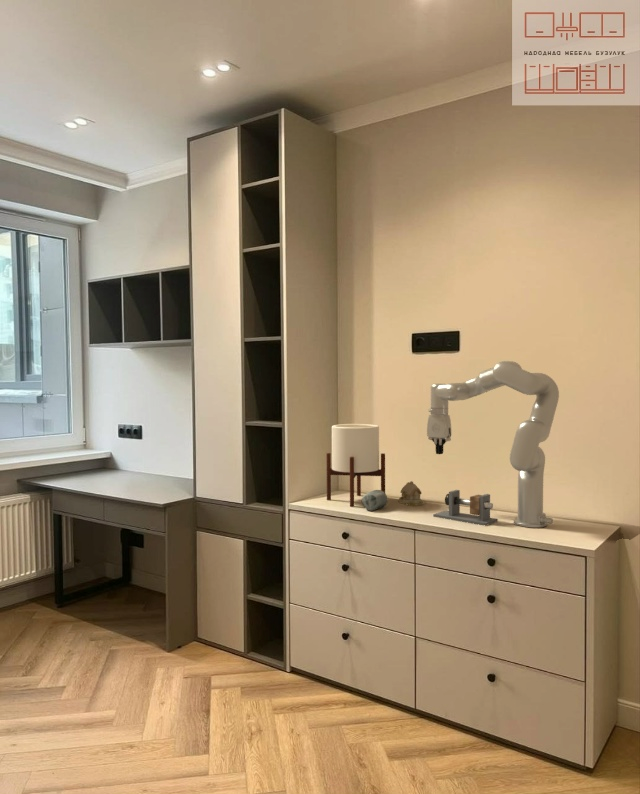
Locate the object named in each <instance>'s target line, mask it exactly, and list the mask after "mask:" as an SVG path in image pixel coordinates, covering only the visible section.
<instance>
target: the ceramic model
mask: <svg viewBox="0 0 640 794" xmlns="http://www.w3.org/2000/svg"><path fill="white" fill-rule="evenodd" d="M400 494H401V496H400V497H399V499H398V503H399V504H403V505H407V506H410V507H411V506H412V507H413V506H421V505H424V500H423V499H421V495H422V490H421V489H420V488H419V487H418V486H417V485H416V483H414V481H413V480H411V481H409V482H406V484H405V485H403V486H402V488H401V490H400Z"/></svg>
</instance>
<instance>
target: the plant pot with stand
mask: <svg viewBox="0 0 640 794" xmlns="http://www.w3.org/2000/svg"><path fill="white" fill-rule="evenodd" d="M331 476H349V507H351V508H352V507H355V478H356V496H359V497H360V496H361V495H362V488H361V487H362V485H361V484H362V479H361V477H380V490H381V491H383V492H384V493H385V494H386V453H380V426H379V425H377V424H367V423H344V424H343V423H342V424H341V423H340V424H334V425H332V426H331V452H326V500H327V501H331V500H332V499H331V498H332V477H331Z"/></svg>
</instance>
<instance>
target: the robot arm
mask: <svg viewBox="0 0 640 794" xmlns="http://www.w3.org/2000/svg"><path fill="white" fill-rule="evenodd" d="M504 386H506V387H508V388H511V389H512V390H515V391H516V392H519V393H521V394H524V395H526V396H536V399H535V401H534V402H533V406H532V409H531V413H530V416H529V418H528V419H527V420H524V421H522V422H521V423H520V424H519V425H518V427H517V429H516V432H515V436H514V439H513V442H512V445H511V446H512V447H511V450H510V453H509V462H510V465H511V466H512V468H513V469H515V470H516V471H518V476H517V518H514V519H513V525H515V526H519V527H523V528H545V527H547V526H548V524H553V522H554V520H553V518H552V517H547V515H546V513H544V475H545V474H544V472H545V464H546V455H545V454H546V453H545V452H544V450H543V449H542V447H541V446H540V444H541V443H542V442H546V440H547V439H548V438H549V437H550V434H551V429H552V425H553V421H554V418H555V413H556V411H557V410H556V409H557V407H558V405H559V404H558V403H559V398H560V390H559V387H558V385H557V383H556V382H555V380H554V379H553V378H552V377H551V376H549V375H548V374H546V373H543V372H530V371H527V370H525V369H523V368H522V366H521V365H520V364H519V363H518V362H517V361H509V360H506V361H505V360H504V361H499V362H498V363H496V364H495V366H493V367H492V368H488V369H485V370H483V371H481V372H479V374H478V376H476V377H474V378H472V379H469V380H467V381H464V382H454V383H453V382H451V383H432V384H431V385H430V408H429V409H428V412H429V413H430V414H428V419H427V424H426V425H427V426H426V436H427V437H428V440H430V441H431V442H433V444H434V445H435V455H442V454H444V445H445V444H446V443H447V442H450V441H452V439H451V438H452V423H451V416H450V415H449V401H451V402H455V401H456V402H457V401H464V400H465V401H466V400H468V399H471V398H472V399H473V398H474V397H477V396H480V395H483V394H485V393H487V392H490V391H492V390H496V389H498V388H501V387H504Z"/></svg>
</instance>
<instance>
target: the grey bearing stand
mask: <svg viewBox="0 0 640 794" xmlns="http://www.w3.org/2000/svg"><path fill="white" fill-rule="evenodd" d="M448 494H449V506H448V510H446V509H445V510H443V511H440V512H436V513H433V515H432V516H433V517H434V518H439V519H444V518H445V520H450V519H451V520H452V521H456V522H457V521H458V522H461V521H462V522H463V523H467V522H468V524H473V523H474V525H478V524H479V526H484V525H485V526H484V527H486V526H489V525H491V524H494V523H498V518H495V517H494V518H493V517H491V509H487V508H484V502H488V503H491V494H490V493H485V494H480V495H481V496H479V515H473V514H470V513H466V512H465V513H463V512H460V511H461V510H460V507H461V506H460V505H461V504H455V503H454V497H455V498H461V497H460V496H461V495H460V494H461V491H460V490H459V489H455V490H450V491H448ZM462 522H461V523H462Z"/></svg>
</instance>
